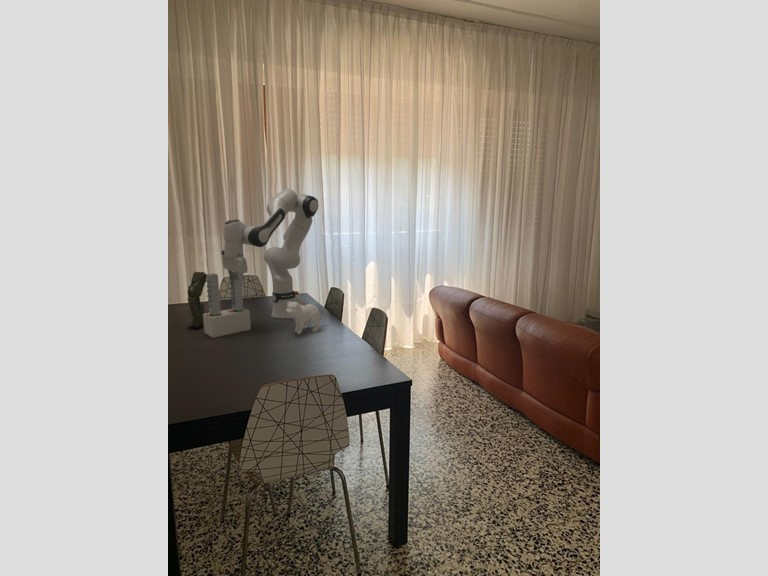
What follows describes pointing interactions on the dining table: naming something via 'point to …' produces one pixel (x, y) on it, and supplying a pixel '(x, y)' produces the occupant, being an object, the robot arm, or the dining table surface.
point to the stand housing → (226, 323)
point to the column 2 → (236, 292)
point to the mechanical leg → (196, 299)
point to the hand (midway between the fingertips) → (236, 279)
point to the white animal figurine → (303, 315)
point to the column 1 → (213, 295)
